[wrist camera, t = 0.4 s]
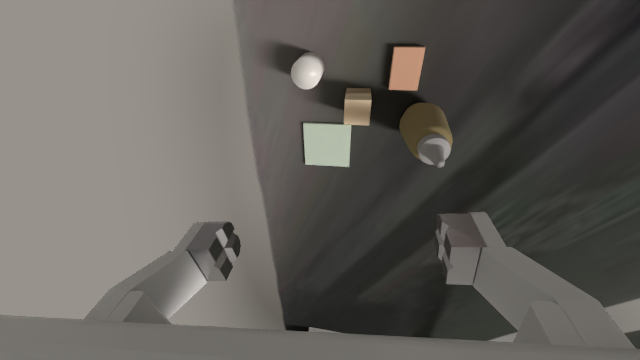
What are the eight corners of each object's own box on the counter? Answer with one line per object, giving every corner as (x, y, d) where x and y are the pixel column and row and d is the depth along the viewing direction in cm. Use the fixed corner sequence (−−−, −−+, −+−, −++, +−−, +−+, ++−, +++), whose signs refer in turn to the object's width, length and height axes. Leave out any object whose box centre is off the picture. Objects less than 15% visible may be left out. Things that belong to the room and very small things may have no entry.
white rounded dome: (297, 51, 48) (289, 57, 43) (324, 51, 48) (320, 58, 43) (298, 80, 51) (292, 89, 46) (324, 80, 50) (320, 89, 46)
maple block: (346, 87, 51) (344, 99, 45) (370, 88, 50) (371, 100, 44) (345, 110, 53) (343, 124, 48) (368, 111, 53) (369, 125, 47)
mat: (303, 122, 56) (303, 123, 55) (351, 124, 55) (351, 125, 54) (305, 163, 61) (305, 164, 61) (349, 165, 60) (348, 166, 60)
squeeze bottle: (395, 100, 51) (409, 142, 36) (441, 92, 49) (474, 133, 34) (398, 138, 55) (411, 189, 40) (440, 132, 53) (469, 184, 39)
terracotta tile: (393, 45, 46) (394, 47, 44) (423, 45, 45) (425, 47, 44) (388, 86, 50) (388, 89, 48) (415, 87, 49) (417, 90, 48)
